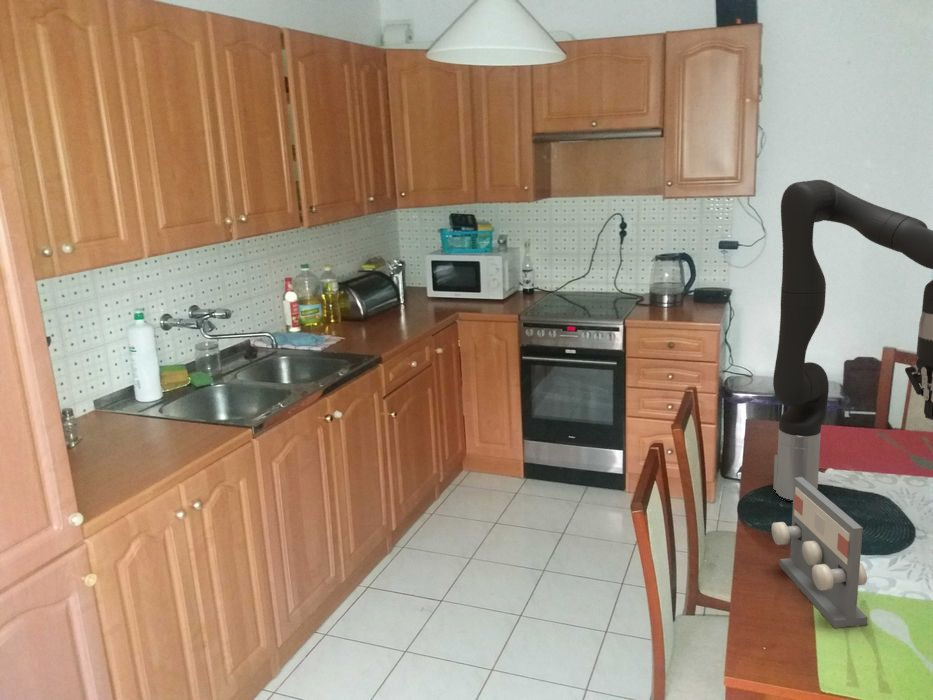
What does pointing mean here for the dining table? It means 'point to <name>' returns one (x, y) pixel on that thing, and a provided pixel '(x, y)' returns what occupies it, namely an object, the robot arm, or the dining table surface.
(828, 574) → the pin
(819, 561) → the middle pin
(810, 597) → the grey panel with knobs
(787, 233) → the robot arm
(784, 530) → the pin
